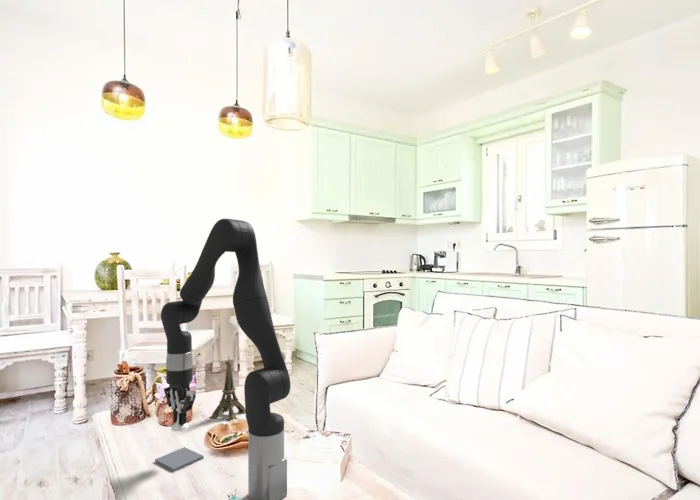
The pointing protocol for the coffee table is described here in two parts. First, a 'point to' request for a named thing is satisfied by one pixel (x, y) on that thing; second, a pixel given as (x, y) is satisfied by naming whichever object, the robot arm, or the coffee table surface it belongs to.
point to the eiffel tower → (228, 397)
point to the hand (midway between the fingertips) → (179, 422)
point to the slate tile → (179, 459)
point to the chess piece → (179, 427)
